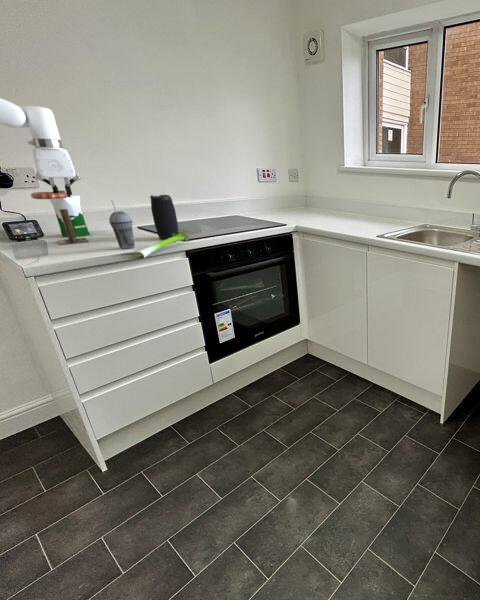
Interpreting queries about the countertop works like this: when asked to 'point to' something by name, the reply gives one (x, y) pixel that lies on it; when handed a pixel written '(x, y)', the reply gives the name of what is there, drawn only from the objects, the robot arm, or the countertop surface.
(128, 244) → the beverage cup
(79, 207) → the milk carton
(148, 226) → the countertop surface
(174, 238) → the leek
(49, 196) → the ring
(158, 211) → the portable speaker
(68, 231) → the peg stand
